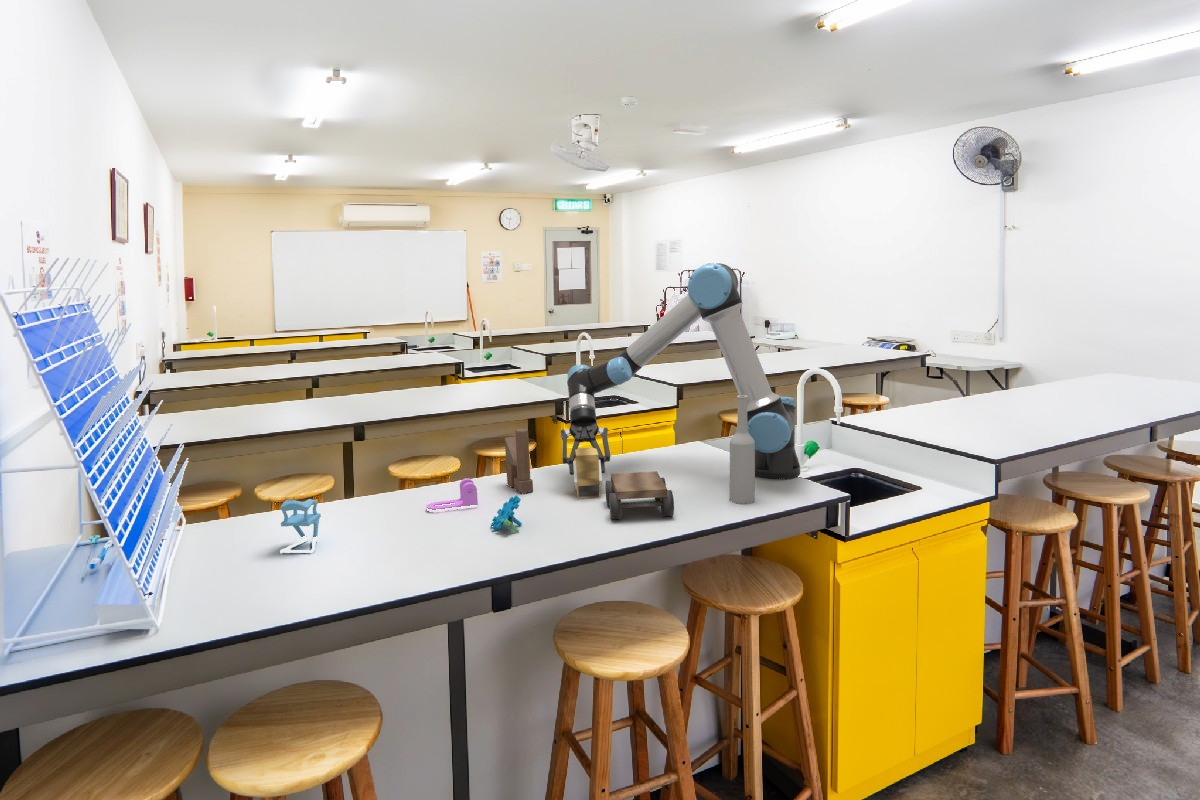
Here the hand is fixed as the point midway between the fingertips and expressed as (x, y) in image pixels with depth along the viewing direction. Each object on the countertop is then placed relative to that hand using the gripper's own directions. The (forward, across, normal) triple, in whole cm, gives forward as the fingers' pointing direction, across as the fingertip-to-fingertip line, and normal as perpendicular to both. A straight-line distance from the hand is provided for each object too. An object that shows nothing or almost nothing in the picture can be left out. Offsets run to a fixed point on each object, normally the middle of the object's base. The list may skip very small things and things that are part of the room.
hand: (588, 483), depth 200 cm
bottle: (+10, -40, +4) cm, 41 cm away
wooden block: (-5, +19, -11) cm, 23 cm away
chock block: (0, 0, -5) cm, 5 cm away
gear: (+17, +21, +12) cm, 30 cm away
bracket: (+5, +37, -1) cm, 37 cm away
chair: (+21, +68, +15) cm, 73 cm away
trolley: (+11, -12, +6) cm, 18 cm away
